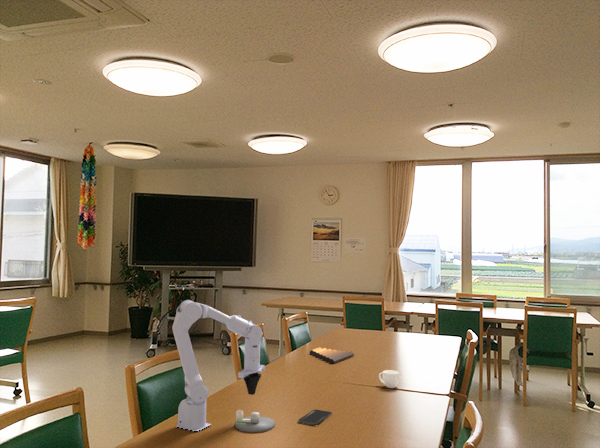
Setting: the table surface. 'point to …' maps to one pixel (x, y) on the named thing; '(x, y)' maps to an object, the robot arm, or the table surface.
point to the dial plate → (256, 425)
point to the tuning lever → (253, 419)
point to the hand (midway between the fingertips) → (251, 394)
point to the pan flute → (331, 355)
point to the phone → (315, 417)
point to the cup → (390, 378)
